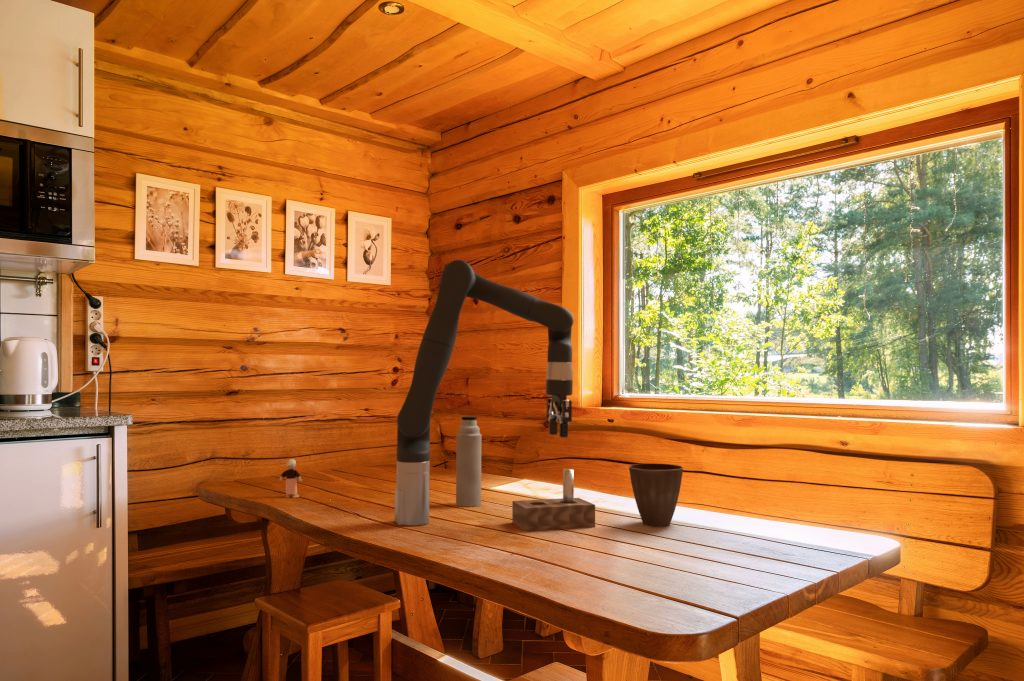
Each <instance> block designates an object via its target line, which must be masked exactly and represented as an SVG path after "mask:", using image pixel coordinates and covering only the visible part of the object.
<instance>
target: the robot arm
mask: <svg viewBox="0 0 1024 681" xmlns="http://www.w3.org/2000/svg"><path fill="white" fill-rule="evenodd" d="M466 298H471V299H474V300H477V301H478V300H479V301H481V302H483V303H487V304H489V305H492V306H493V307H496V308H499V309H501V310H503V311H505V312H507V313H510V314H512V315H514V316H516V317H519V318H521V319H524V320H527V321H529V322H531V323H538V324H539V325H542V326H544V327H546V328H547V335H548V336H547V338H548V339H547V340H548V346H547V356H546V357H547V361H546V362H547V363H546V364H547V365H546V370H545V371H546V372H545V373H546V374H545V395H547V396H551V397H549V398H546V416H545V417H546V419H547V420H548V423H549V426H548V427H549V428H548V431H549V432H548V433H549V435H552V436H554V435H559V438H568V436H569V435H568V434H569V424H570V422H572V420H573V415H572V413H573V412H572V410H573V407H572V404H573V402H572V399H568V398H567V397H568V396H572V395H573V390H574V389H573V385H574V384H573V383H574V382H573V380H574V375H573V374H574V372H573V371H574V370H573V345H572V329H573V324H574V315H573V313H572V312H571V311H570V310H569V309H567V308H566V307H565V306H564V307H563V306H561V305H558V304H555V303H551V302H549V301H545V300H542V298H541V299H540V298H539V297H537V296H534V295H532V294H529V293H528V292H524V291H522V290H519V289H516V288H513V287H508V286H505V285H503V284H499V283H496V282H493V281H490V280H489V279H486V278H485V277H483V276H481V275H480V274H478V273H476V272H475V271H474V269H473V268H472V266H471V265H470V264H469V263H468V262H467V261H465V260H463V259H454V260H452V261H450V262H448V263H447V264H446V265H445V266H444V268H443V270H442V272H441V277H440V283H439V288H438V293H437V298H436V302H435V303H434V307H433V310H432V311H431V314H430V316H429V319H428V322H427V324H426V327H425V330H424V332H423V335H422V338H421V341H420V344H419V348H418V350H417V355H416V359H415V362H414V369H413V374H412V379H411V384H410V387H409V390H408V393H407V394H406V397H405V399H404V402H403V404H402V406H401V408H400V410H399V412H398V413H397V417H396V424H397V425H396V426H397V432H396V434H397V438H396V486H395V488H394V522H395V524H396V525H397V526H422V525H427V524H429V523H430V483H431V482H430V479H431V478H430V476H431V474H430V472H431V470H430V468H431V466H430V465H431V464H430V463H431V461H430V459H431V416H432V412H433V408H434V407H433V406H434V403H435V398H436V395H437V391H438V389H439V386H440V385H441V382H442V381H443V378H444V376H445V374H446V371H447V369H448V365H449V363H450V360H451V358H452V355H453V350H454V347H455V344H456V339H457V335H458V329H459V321H460V314H461V310H462V308H463V305H464V302H465V299H466ZM558 421H559V433H558Z"/></svg>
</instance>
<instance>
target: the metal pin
mask: <svg viewBox="0 0 1024 681" xmlns="http://www.w3.org/2000/svg"><path fill="white" fill-rule="evenodd" d="M574 472H575V469H573V468H563V469H562V499H563V503H564V504H567V503H574V498H575V496H574V495H575V483H574V481H575V474H574Z"/></svg>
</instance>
